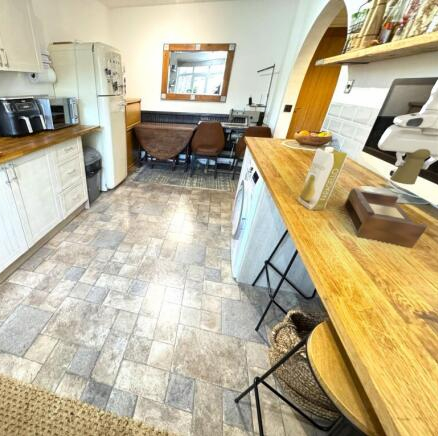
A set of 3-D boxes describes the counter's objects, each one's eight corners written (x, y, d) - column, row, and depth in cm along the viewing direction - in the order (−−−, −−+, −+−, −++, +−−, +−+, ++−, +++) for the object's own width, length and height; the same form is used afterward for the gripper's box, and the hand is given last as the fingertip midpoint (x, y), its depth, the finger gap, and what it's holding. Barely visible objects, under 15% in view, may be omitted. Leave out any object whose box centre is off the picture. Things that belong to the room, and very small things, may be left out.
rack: (386, 214, 93) (398, 193, 88) (411, 248, 74) (429, 224, 70) (342, 206, 98) (352, 186, 94) (357, 237, 80) (370, 213, 75)
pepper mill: (419, 185, 75) (441, 150, 69) (395, 183, 76) (415, 148, 71) (408, 178, 79) (428, 145, 74) (386, 176, 81) (404, 143, 75)
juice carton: (294, 201, 103) (314, 144, 90) (311, 200, 103) (334, 144, 91) (309, 211, 95) (333, 151, 82) (327, 210, 95) (354, 150, 83)
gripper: (481, 121, 67) (449, 169, 74) (388, 116, 75) (367, 160, 82) (497, 125, 62) (461, 175, 69) (396, 119, 70) (373, 165, 77)
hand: (409, 167), depth 75 cm, fingers closed on pepper mill, 4 cm apart
